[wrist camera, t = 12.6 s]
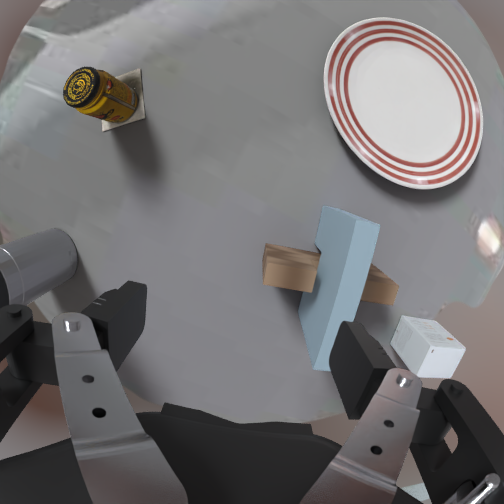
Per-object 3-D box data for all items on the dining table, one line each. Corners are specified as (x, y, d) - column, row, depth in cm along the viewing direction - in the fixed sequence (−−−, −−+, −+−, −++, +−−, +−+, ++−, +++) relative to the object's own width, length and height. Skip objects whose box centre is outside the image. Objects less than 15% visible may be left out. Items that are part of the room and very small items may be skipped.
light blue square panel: (297, 311, 44) (313, 369, 30) (323, 205, 40) (356, 219, 26) (313, 314, 44) (334, 371, 30) (339, 209, 40) (380, 225, 26)
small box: (388, 343, 45) (413, 378, 35) (401, 313, 44) (430, 345, 34) (423, 347, 46) (450, 379, 35) (436, 320, 44) (467, 348, 34)
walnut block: (262, 260, 42) (262, 284, 33) (265, 243, 42) (267, 262, 32) (367, 279, 43) (392, 305, 33) (371, 263, 42) (399, 286, 32)
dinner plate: (299, 152, 39) (303, 150, 36) (338, 1, 33) (343, -9, 29) (455, 212, 40) (467, 215, 37) (476, 71, 34) (487, 67, 30)
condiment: (103, 131, 39) (57, 120, 27) (99, 83, 37) (57, 61, 25) (145, 118, 38) (107, 100, 26) (140, 68, 36) (105, 38, 25)
